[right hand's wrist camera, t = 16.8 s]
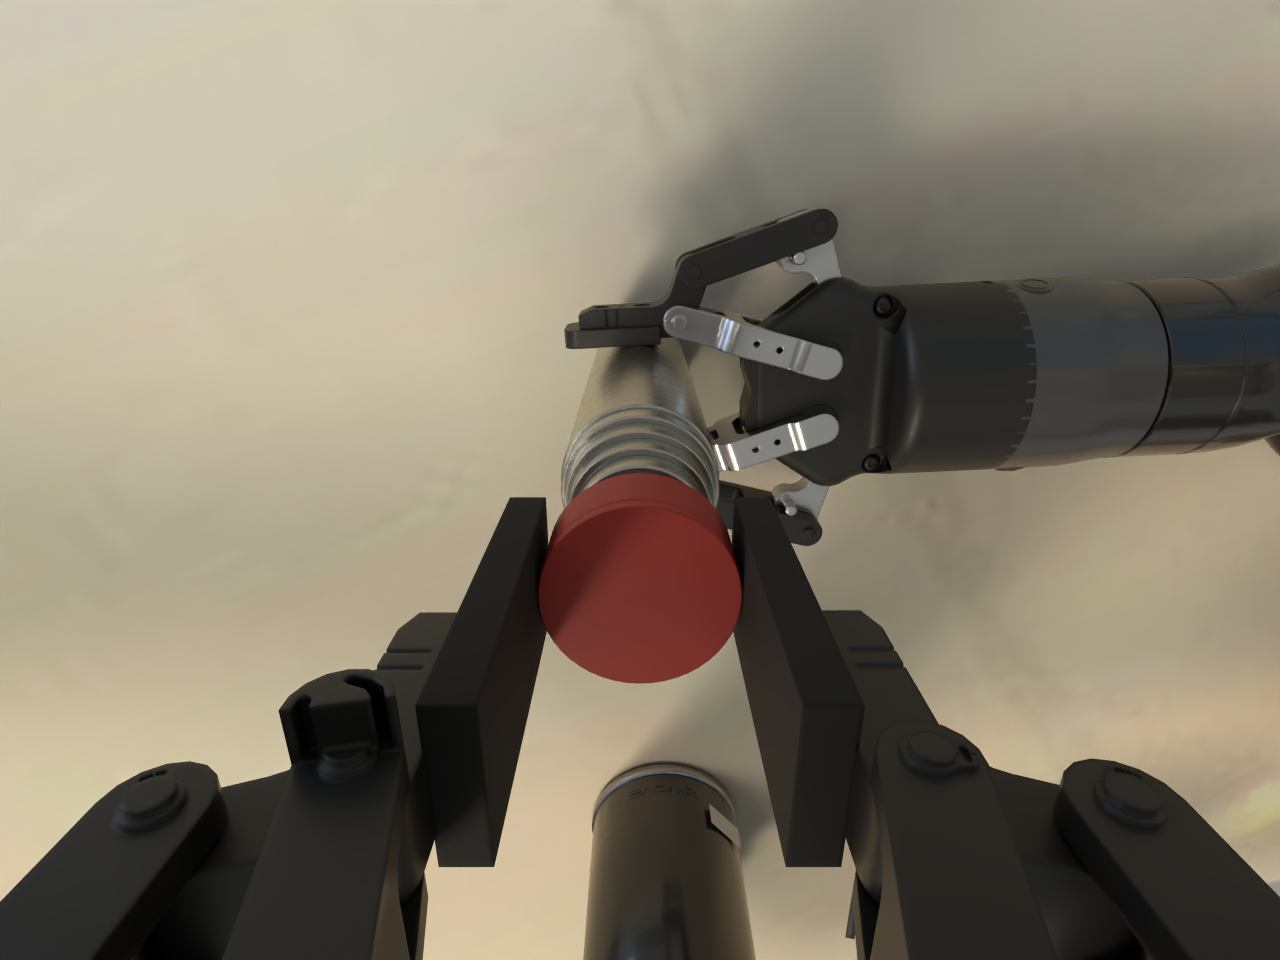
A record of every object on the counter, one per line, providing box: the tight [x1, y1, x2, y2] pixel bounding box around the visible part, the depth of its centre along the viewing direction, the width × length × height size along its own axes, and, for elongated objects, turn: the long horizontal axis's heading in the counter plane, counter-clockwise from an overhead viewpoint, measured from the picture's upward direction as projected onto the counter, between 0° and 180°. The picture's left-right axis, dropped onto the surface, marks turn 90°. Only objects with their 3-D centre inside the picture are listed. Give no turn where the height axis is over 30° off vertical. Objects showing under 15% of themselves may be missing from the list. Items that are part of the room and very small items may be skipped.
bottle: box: [561, 338, 719, 509], centre depth 24 cm, size 4×4×22 cm
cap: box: [538, 473, 742, 683], centre depth 14 cm, size 4×4×2 cm
